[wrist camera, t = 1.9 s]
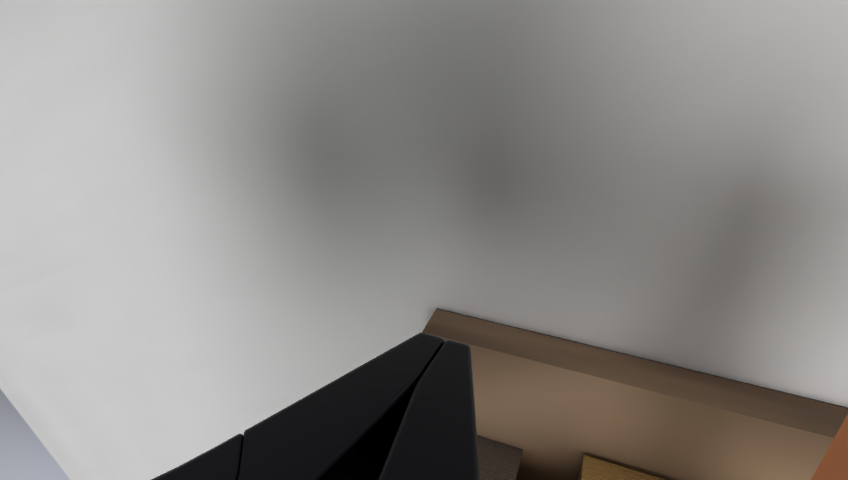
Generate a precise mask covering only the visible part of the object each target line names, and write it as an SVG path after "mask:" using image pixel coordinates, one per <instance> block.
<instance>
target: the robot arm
mask: <svg viewBox="0 0 848 480" xmlns="http://www.w3.org/2000/svg"><path fill="white" fill-rule="evenodd" d="M152 480H480V474H479V460H478V445H477V430H476V415H475V400H474V385H473V370H472V356H471V347H470V346H469V345H468V344H464V343H461V342H457V341H453V340H446V341H445V340H444V339H443V338H442V337H439V336H435V335H431V334H428V333H419V334H417V335H415V336H413V337H412V338H410V339H408V340H406V341H404V342H403V343H401V344H399V345H397V346H396V347H394V348H392V349H390V350H388V351H387V352H385V353H383V354H381V355H379V356H378V357H376V358H374V359H372V360H370V361H369V362H367V363H365V364H363V365H362V366H360V367H358V368H356V369H354V370H353V371H351V372H349V373H347V374H345V375H344V376H342V377H340V378H338V379H337V380H335V381H333V382H331V383H329V384H328V385H326V386H324V387H322V388H320V389H319V390H317V391H315V392H313V393H311V394H310V395H308V396H306V397H304V398H303V399H301V400H299V401H297V402H295V403H294V404H292V405H290V406H288V407H286V408H285V409H283V410H281V411H279V412H278V413H276V414H274V415H272V416H270V417H269V418H267V419H265V420H263V421H261V422H260V423H258V424H256V425H254V426H252V427H251V428H249V429H247V430H245V432H244V436H243V435H242V434H238V435H236V436H234V437H232V438H231V439H229V440H227V441H225V442H223V443H222V444H220V445H218V446H216V447H214V448H213V449H211V450H209V451H207V452H205V453H203V454H201V455H199V456H197V457H196V458H194V459H192V460H190V461H188V462H186V463H184V464H182V465H180V466H179V467H177V468H174V469H172V470H170V471H168V472H166V473H164V474H162V475H160V476H158V477H156V478H154V479H152Z"/></svg>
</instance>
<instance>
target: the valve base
mask: <svg viewBox="0 0 848 480" xmlns="http://www.w3.org/2000/svg"><path fill="white" fill-rule="evenodd" d="M422 333H428V334H431V335H435V336H439V337H442V338H443V339H444V340H445V341H446V340H453V341H457V342H461V343H464V344H468V345H469V346H470V347H471V356H472V370H473V385H474V400H475V415H476V430H477V445H478V460H479V474H480V480H811V478H812V476H813V475H814V473H815V471H816V469H817V468H818V466H819V464H820V462H821V461H822V459H823V457H824V455H825V453H826V452H827V450H828V448H829V446H830V445H831V443H832V441H833V439H834V437H835V436H836V434H837V432H838V430H839V429H840V427H841V425H842V423H843V422H844V420H845V418H846V416H847V414H848V408H844V407H840V406H836V405H832V404H828V403H824V402H820V401H816V400H811V399H807V398H803V397H799V396H795V395H791V394H787V393H782V392H778V391H774V390H770V389H766V388H762V387H758V386H753V385H749V384H745V383H741V382H737V381H733V380H729V379H725V378H720V377H716V376H712V375H708V374H704V373H700V372H696V371H691V370H687V369H683V368H679V367H675V366H671V365H667V364H663V363H658V362H654V361H650V360H646V359H642V358H638V357H634V356H629V355H625V354H621V353H617V352H613V351H609V350H605V349H601V348H596V347H592V346H588V345H584V344H580V343H576V342H572V341H567V340H563V339H559V338H555V337H551V336H547V335H543V334H539V333H534V332H530V331H526V330H522V329H518V328H514V327H510V326H505V325H501V324H497V323H493V322H489V321H485V320H481V319H477V318H472V317H468V316H464V315H460V314H456V313H452V312H448V311H443V310H439V309H436V310H435V312H434V314H433V315H432V317H431V319H430V320H429V322H428V324H427V325H426V327H425V329H424V330H423V332H422Z"/></svg>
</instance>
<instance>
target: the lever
mask: <svg viewBox="0 0 848 480" xmlns="http://www.w3.org/2000/svg"><path fill="white" fill-rule="evenodd" d="M811 480H848V414H847V416H846V418H845V420H844V422H843V423H842V425H841V427H840V429H839V430H838V432H837V434H836V436H835V437H834V439H833V441H832V443H831V445H830V446H829V448H828V450H827V452H826V453H825V455H824V457H823V459H822V461H821V462H820V464H819V466H818V468H817V469H816V471H815V473H814V475H813V476H812V478H811Z"/></svg>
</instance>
